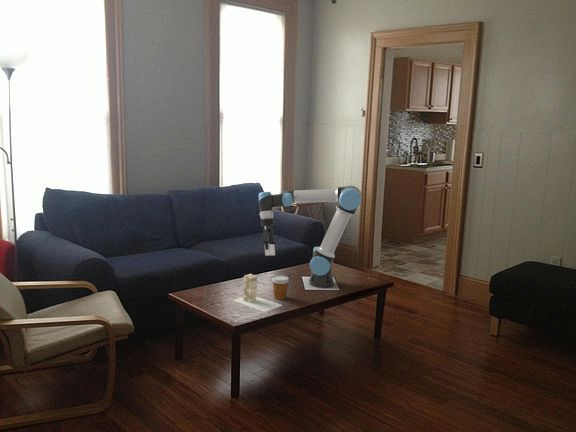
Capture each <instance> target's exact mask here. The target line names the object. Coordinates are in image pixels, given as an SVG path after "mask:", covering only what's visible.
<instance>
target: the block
mask: <svg viewBox="0 0 576 432" xmlns="http://www.w3.org/2000/svg"><path fill="white" fill-rule="evenodd" d="M257 280H258V276H257V275H255V274H252V273H249V274H245V275H243V294H242V295H243V296H242V297H243V300H244V301H247V302H253V301H256V296H257V292H258V291H257V285H258V282H257Z"/></svg>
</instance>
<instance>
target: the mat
mask: <svg viewBox="0 0 576 432" xmlns="http://www.w3.org/2000/svg"><path fill="white" fill-rule="evenodd" d="M233 302H236V303H239V304H241V305H244V306H247V307H249V308H252V309H256V310H258V311H260V312H261V311H262V312H263V313H265V312H268V311H271V310H274V309H277V308H279V307H282V306H283V304H280V303H278V302H274V301H273V300H272V301H271V300H269V299H266V298H263V297H260V296H257V295H256V301H253V302H247V301H244V300H243V296H242V297H239V298H236V299H233Z"/></svg>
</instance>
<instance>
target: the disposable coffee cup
mask: <svg viewBox="0 0 576 432" xmlns="http://www.w3.org/2000/svg"><path fill="white" fill-rule="evenodd" d="M289 279H290V278H289V277H288V276H285V275H275V276H272V279H271V280H272V281H271V282H272V287H273V296H274V299H275V300H279V301H281V300H285V299H286V297H287V291H288V285H289V282H290V280H289Z"/></svg>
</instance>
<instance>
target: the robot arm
mask: <svg viewBox="0 0 576 432" xmlns="http://www.w3.org/2000/svg"><path fill="white" fill-rule="evenodd" d="M332 202H333V203H336V204H335V209H336V210H335V213H334V216H333V217H332V220H331V221H330V224H329V226H328V229H327V231H326V233H325V235H324V237H323V240H322V241H321V244H320V246H314V247H313V251H312V258H311V260H310V261H309V269H310V272H311V274H310V277H309V279H308V281H309V282H308V283H309V285H310V286H312V287H316V288H330V287H333V286H334V285H335V281H334V280H335V279H334V276H333V273H332V270H333V261H334V260H335V257H336V256H335V252H336V249H337V247H338V244H339V242H340V241H341V238H342V236H343V234H344V231H345V229H346V227H347V225H348V223H349V220H350V219H351V217H352V216H354V215H355V214H356V212H357V210H358V208H359V206H360V205H361V202H362V192H361V190H360V189H359V188H358V187H357V186H354V185H347V186H338V187H336V188H327V189H302V190H301V189H299V190H289V189H285V190H282V191H281V192H280V193H277V194H272V192H271V191H262V192H259V193H258V205H259V216H260V225H261V227H262V231H263V232H262V233H263V234H262V235H263V237H262V244H263V245H264V255H265V257H266V256H276V248H275V247H276V246H275V245H276V241H275V236H274V230H273V227H271V226H274V225H275V221H274V210H273V209H274V208H282V207H283V208H284V207H286V208H287V207H290V206H293V204H297V203H298V204H300V203H303V204H304V203H332Z"/></svg>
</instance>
